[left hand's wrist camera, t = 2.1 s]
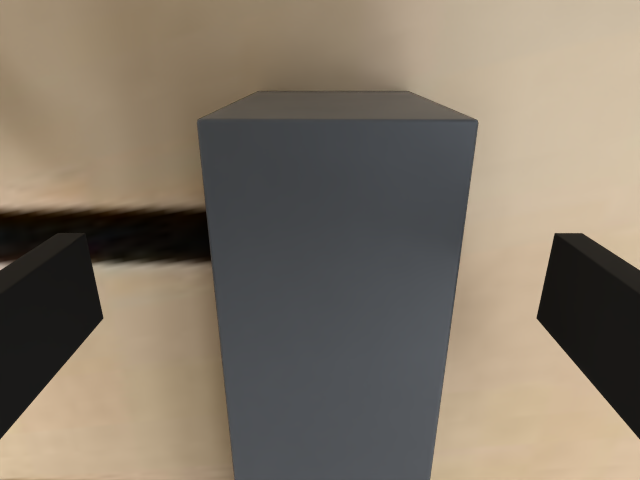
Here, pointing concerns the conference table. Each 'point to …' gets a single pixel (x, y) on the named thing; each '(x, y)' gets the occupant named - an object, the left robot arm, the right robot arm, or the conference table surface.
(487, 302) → the conference table surface
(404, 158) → the post
